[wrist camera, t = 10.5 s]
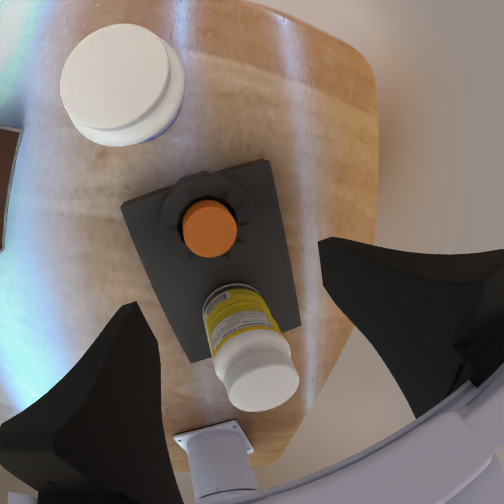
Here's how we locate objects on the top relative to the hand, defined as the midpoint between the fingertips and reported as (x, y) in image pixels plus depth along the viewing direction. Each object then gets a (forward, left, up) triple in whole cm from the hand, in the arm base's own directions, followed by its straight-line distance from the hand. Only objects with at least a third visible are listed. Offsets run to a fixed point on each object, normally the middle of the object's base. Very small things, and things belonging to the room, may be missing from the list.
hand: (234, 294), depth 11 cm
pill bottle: (+9, +2, -11) cm, 14 cm away
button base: (-4, 0, -10) cm, 11 cm away
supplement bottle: (-7, 0, -9) cm, 12 cm away
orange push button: (0, 0, -8) cm, 8 cm away
